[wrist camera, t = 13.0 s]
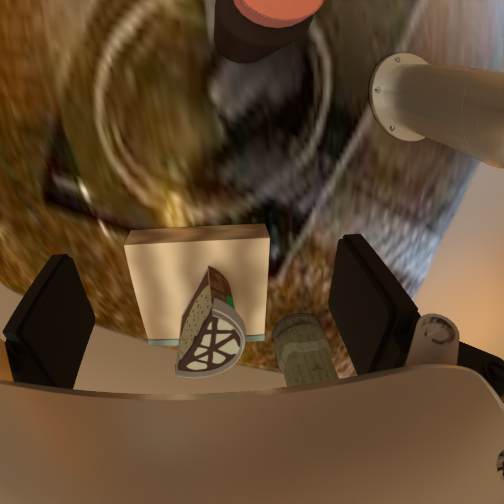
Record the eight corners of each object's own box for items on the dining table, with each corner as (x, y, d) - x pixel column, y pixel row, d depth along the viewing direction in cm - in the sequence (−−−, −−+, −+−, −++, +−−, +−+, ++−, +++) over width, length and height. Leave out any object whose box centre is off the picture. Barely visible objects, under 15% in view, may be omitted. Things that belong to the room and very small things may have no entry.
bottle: (284, 29, 27) (362, -20, 10) (254, 73, 30) (304, 59, 13) (233, 2, 25) (258, -79, 8) (202, 47, 28) (190, 0, 11)
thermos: (297, 356, 56) (346, 527, 26) (255, 331, 51) (296, 538, 21) (333, 330, 53) (403, 506, 24) (295, 300, 48) (367, 518, 18)
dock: (264, 223, 40) (270, 239, 37) (260, 322, 50) (264, 340, 46) (131, 230, 38) (123, 246, 35) (153, 327, 48) (149, 346, 44)
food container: (216, 334, 44) (219, 388, 36) (178, 322, 42) (174, 377, 34) (256, 273, 39) (269, 328, 31) (213, 256, 37) (214, 311, 29)
